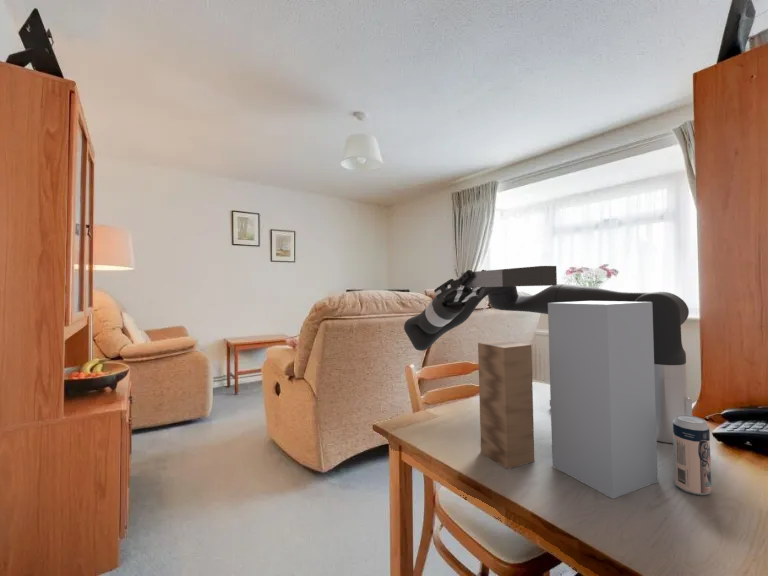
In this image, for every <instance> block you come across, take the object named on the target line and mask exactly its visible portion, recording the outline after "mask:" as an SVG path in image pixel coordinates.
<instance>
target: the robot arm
mask: <svg viewBox="0 0 768 576" xmlns="http://www.w3.org/2000/svg"><path fill="white" fill-rule="evenodd" d="M481 271H487V269H481ZM473 272H474V271H473V270H472V269H467V270H466V271H465V273H464V272H463V273H464V274H463V275H462V276H461V275H460V276H461V277H459V276H458V277H457V278H456V279H454V278H450V279H448V280H447V281H446V282H444V283H442V284H441V285H440V286H438V287H436V288H434V290H433V291H434V295H435V296H434V297H433V299H431V301H430V302H429V303H428V305H427V306H426V308H424V310H423V311H421V313H420V314H417V315H415V316H414V315H413V316H412V317H410V318H408V319H407V320H406V321H405V322H404V324H403V330H404V332H405V334H406V335H407V337H408V339H409V341H410V343H411V344H412V346H413V347H414V349H415V350H417V351H419V352H421V351H427V350H428V349H429V348H430V347H432V346H433V344H435V342H437V340H439V338H441V336H443V335H444V334H446V333H447V332H449V331H451V330H452V329H454V328H456V327H459V326H461V325H462V324H463V323H465V322H466V321H468V319H469V318H470V317H471V315H472V314H473V312H474V311H475V310H476V307H477V306H478V305H479V304H480V303H481V301H482V300H484V298H486V297H487V298H488V301H489V304H490V306H491V307H492V308H494V309H496V310H499V311H509V312H510V311H511V312H513V311H514V312H524V313H525V312H526V313H537V314H543V315H548V303H557V302H577V301H627V302H652V309H653V342H654V375H655V408H656V440H657V442H662V443H667V444H673V420H674V418H675V417H676V416H677V415H690V416H693V401H692V399H691V397H689V396H688V385H687V384H688V382H687V381H688V379H687V353H686V351H685V349H684V348H683V347H684V346H683V343H682V325H683V324H685V322H686V321H687V320H688V317H689V315H690V311H689V306H688V305H687V303H686V302H685V301H684V300H683V299H682V298H681V297H680V296H678V295H677V294H674V293H670V292H668V291H654V292H629V291H628V292H627V291H617V290H616V291H615V290H610V289H605V288H598V287H592V286H586V285H577V284H565V283H564V284H563V283H562V284H561V283H559V284H558V283H557V285H552V286H549V287H546V288H544V289H542V290H541V291H539V292H538V293H535V294H533V295H520V294H518V289H517V286H507V287H464V285H467V284H468V283H469V282H470V281H471V280H472V279H473V278H474V275H473Z"/></svg>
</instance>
